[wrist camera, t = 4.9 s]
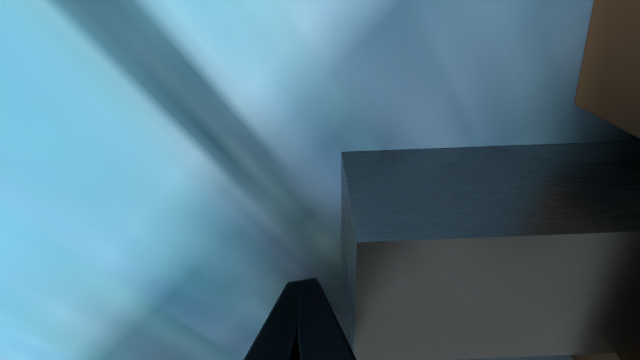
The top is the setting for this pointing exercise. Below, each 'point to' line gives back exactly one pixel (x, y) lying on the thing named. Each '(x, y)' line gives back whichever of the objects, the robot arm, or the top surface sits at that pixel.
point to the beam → (612, 82)
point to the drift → (492, 251)
